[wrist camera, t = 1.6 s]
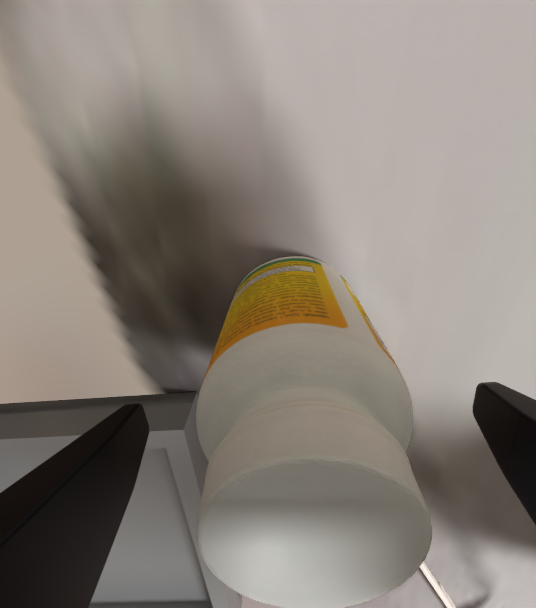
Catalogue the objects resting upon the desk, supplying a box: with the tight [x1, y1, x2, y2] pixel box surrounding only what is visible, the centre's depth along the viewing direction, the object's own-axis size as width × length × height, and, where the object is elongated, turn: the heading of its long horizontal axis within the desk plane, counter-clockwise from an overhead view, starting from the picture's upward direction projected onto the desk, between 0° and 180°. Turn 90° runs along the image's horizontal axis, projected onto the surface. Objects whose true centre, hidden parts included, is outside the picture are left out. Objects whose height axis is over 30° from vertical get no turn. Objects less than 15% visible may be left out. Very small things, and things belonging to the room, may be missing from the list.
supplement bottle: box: [196, 256, 432, 608], centre depth 10 cm, size 5×5×10 cm
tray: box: [0, 392, 242, 608], centre depth 19 cm, size 18×14×2 cm
